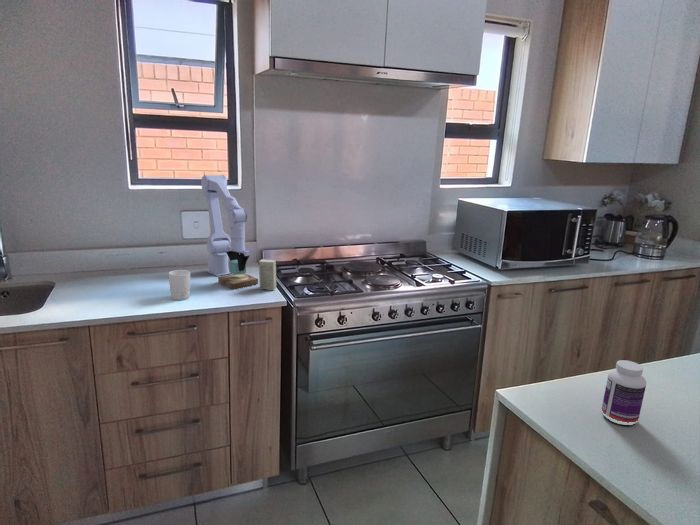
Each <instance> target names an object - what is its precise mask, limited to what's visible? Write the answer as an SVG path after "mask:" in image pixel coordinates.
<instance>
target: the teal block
mask: <svg viewBox="0 0 700 525" xmlns="http://www.w3.org/2000/svg"><path fill="white" fill-rule="evenodd" d="M246 265H247V264H246ZM246 265H245V269H244V270H243V271H239V267H238V260H231V261H230V260H228V271H229V272H230V273H231V275H232V274H235V275H238V274H243V273H245V274H247V266H246Z"/></svg>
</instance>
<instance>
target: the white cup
mask: <svg viewBox="0 0 700 525" xmlns="http://www.w3.org/2000/svg"><path fill="white" fill-rule="evenodd" d="M168 279H169V280H168V281H169V288H170V290H169V291H170V295H171V296H170V297H171V299H172V300H175V301H184V300H187V299H189V298H190V296H191V294H190V293H191V271H190V270H188V269H175V270H171V271H169V272H168Z"/></svg>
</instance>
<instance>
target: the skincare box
mask: <svg viewBox="0 0 700 525" xmlns="http://www.w3.org/2000/svg"><path fill="white" fill-rule="evenodd" d="M258 272H259V273H258V275H259V279H258V282H259V290H260V289H268V290H267V291H275V290H276V288H277V260H276V259H262V258H261V259H260V260H258ZM274 289H275V290H274Z"/></svg>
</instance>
